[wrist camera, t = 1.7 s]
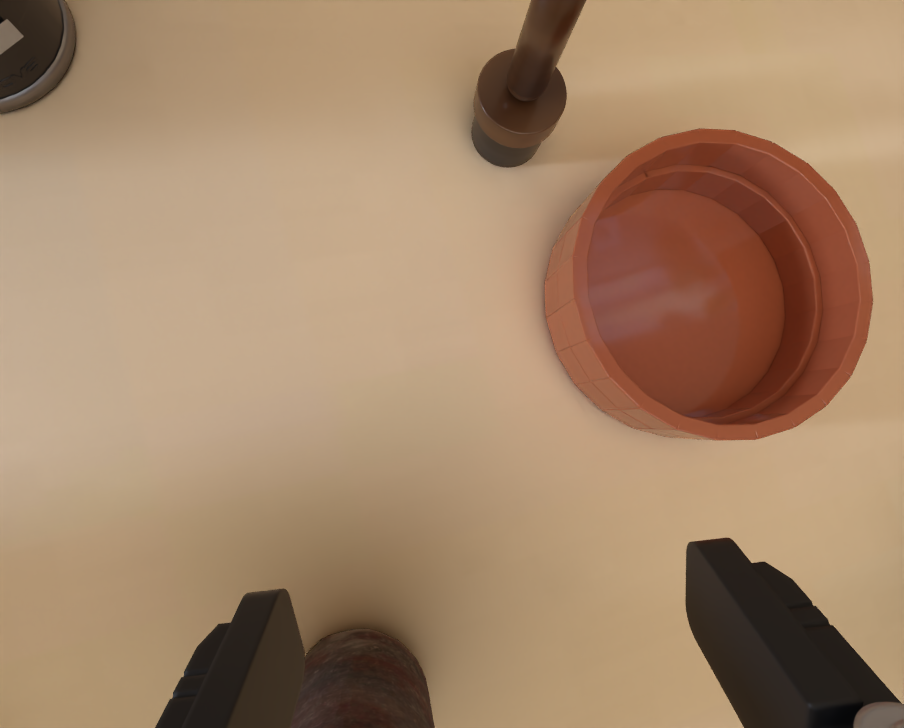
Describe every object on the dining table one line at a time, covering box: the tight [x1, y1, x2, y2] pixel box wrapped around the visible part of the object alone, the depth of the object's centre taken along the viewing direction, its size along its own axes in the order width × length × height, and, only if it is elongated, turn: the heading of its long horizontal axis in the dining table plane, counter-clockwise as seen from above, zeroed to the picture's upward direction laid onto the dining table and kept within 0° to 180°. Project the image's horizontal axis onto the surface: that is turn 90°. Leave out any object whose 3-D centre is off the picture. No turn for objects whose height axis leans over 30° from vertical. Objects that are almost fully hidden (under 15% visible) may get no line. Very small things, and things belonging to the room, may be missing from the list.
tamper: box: [471, 0, 586, 167], centre depth 27 cm, size 5×5×16 cm
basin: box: [545, 129, 873, 440], centre depth 32 cm, size 17×17×6 cm
